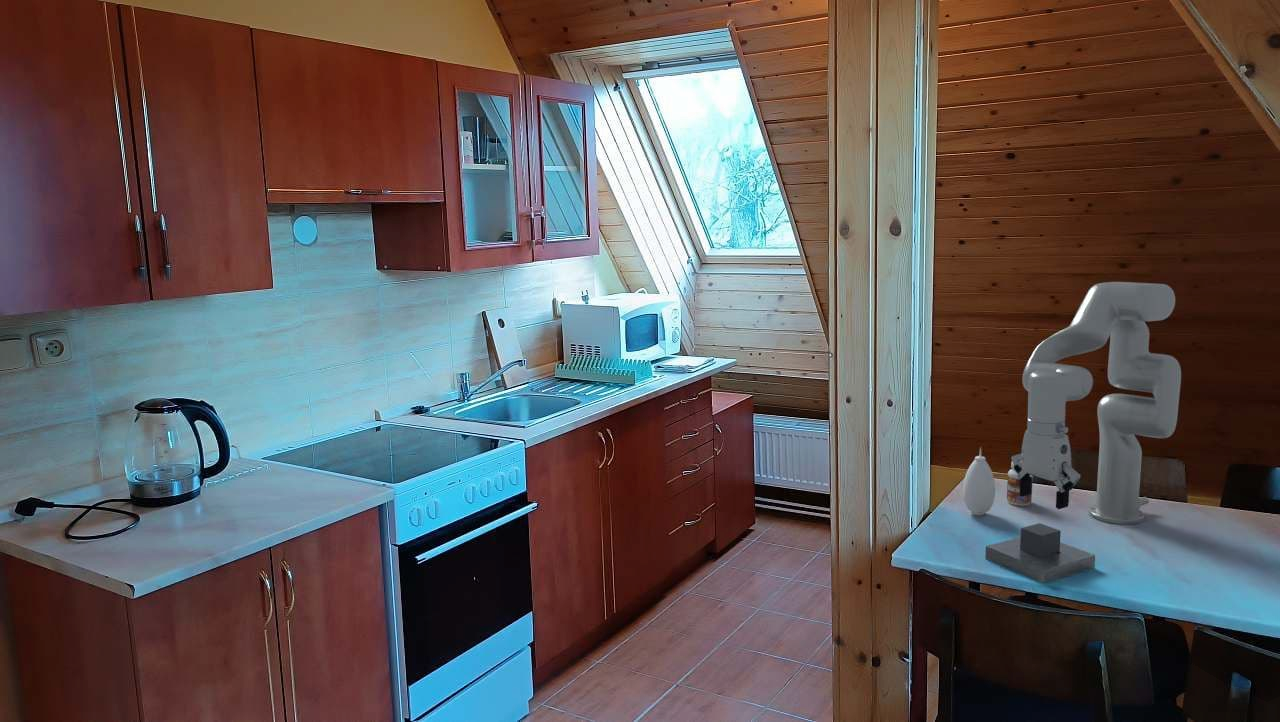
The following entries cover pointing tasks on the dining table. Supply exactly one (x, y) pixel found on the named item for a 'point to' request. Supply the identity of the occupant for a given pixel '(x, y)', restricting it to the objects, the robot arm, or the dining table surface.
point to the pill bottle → (1016, 490)
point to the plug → (1040, 540)
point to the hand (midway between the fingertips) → (1043, 501)
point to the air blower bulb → (979, 486)
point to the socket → (1040, 560)
